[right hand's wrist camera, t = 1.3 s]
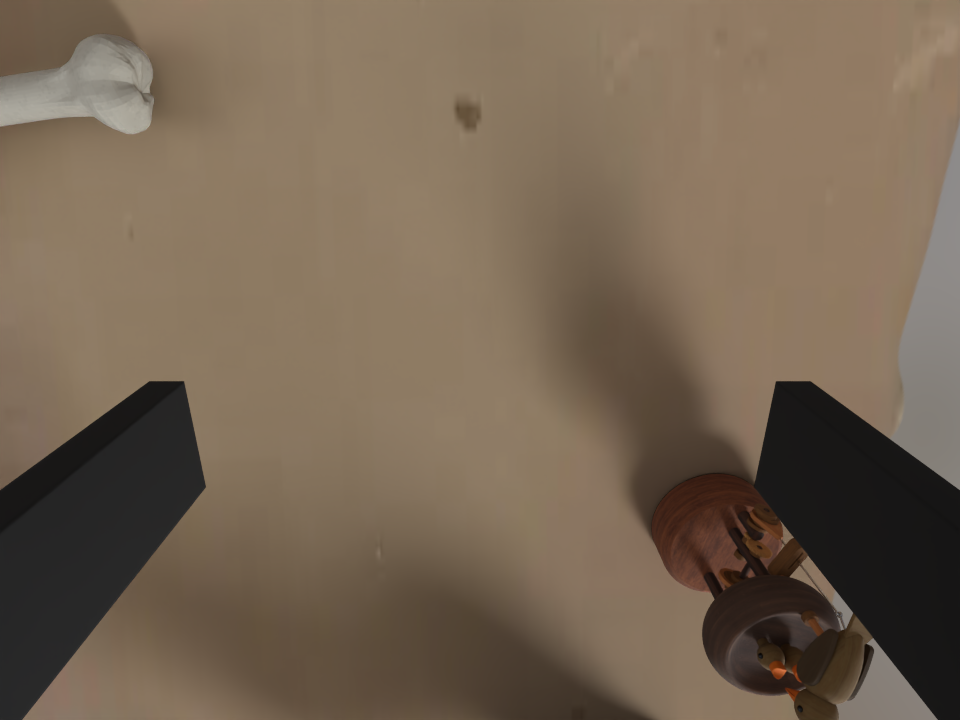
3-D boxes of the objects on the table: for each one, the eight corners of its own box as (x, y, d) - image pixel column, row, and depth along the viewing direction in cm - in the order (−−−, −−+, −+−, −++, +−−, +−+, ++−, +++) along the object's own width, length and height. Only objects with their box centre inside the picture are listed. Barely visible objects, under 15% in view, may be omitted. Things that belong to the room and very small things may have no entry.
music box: (666, 450, 49) (813, 637, 31) (782, 460, 51) (988, 646, 32) (625, 588, 54) (728, 820, 36) (730, 593, 56) (882, 819, 37)
